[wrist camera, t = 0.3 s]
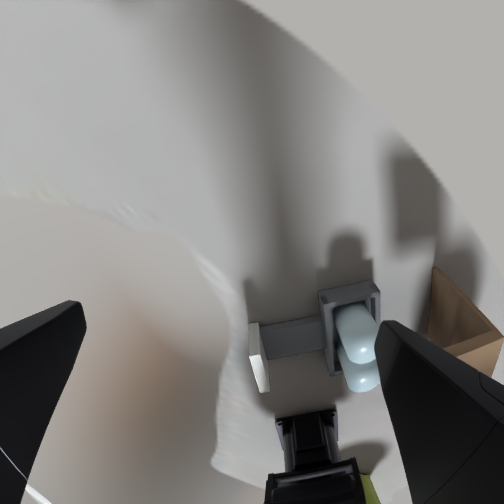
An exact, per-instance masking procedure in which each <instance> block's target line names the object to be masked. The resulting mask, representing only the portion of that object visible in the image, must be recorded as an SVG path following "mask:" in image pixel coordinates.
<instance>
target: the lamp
mask: <svg viewBox="0 0 504 504" xmlns="http://www.w3.org/2000/svg"><path fill="white" fill-rule="evenodd" d="M318 296H319V304H320V312H321V315H318V316H313V317H308V318H303V319H298V320H293V321H288V322H283V323H278V324H273V325H267V326H262V327H259V323H258V322H256V323H250V324H249V358H250V361H251V365H252V368H253V371H254V375H255V378H256V381H257V385H258V388H259V391H260V393H264V392H270V382H269V370H268V360H271V359H277V358H282V357H287V356H293V355H298V354H303V353H307V352H312V351H317V350H321V349H325V357H326V363H327V367H328V370H329V374H330V376H334V375H338V374H342V373H344V372H343V369H342V366H341V363H340V360H339V358H338V355H337V352H336V349H335V344H336V341H337V340H338V338H339V337H340V336H339V333H338V331H337V328H336V326H335V323H334V321H333V311H334V309H335V307H336V306H340V305H345V304H349V303H353V302H357V301H361V300H362V301H363V302H364V304H365V305H366V307H367V309H368V310H369V312H370V314H371V315H372V317H373V319H374V321H375V322H376V324H377V326H378V327H380V290H379V289H378V287H377V286H376V285H375V283H374V282H373V281H372V280H368V281H364V282H359V283H354V284H350V285H345V286H340V287H336V288H331V289H326V290H321V291H318Z"/></svg>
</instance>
